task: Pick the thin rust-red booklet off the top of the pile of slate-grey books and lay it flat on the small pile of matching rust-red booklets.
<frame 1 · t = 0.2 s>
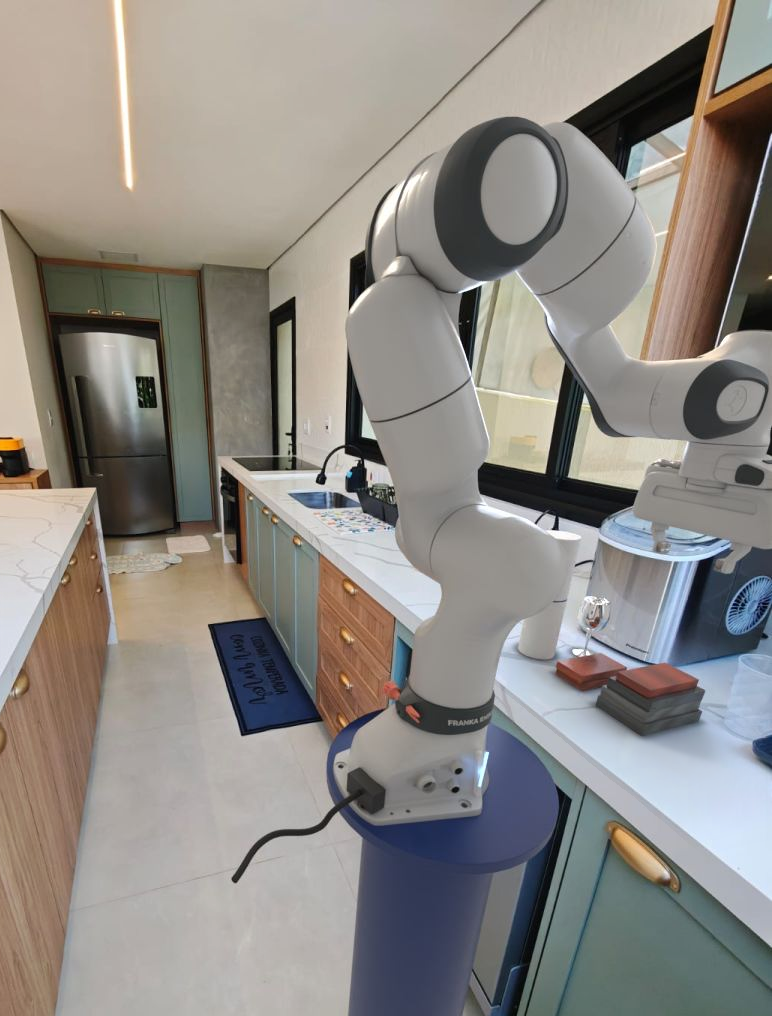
hand: (689, 562, 74), 27 cm above the countertop, tool pointing down, fingers open, 8 cm apart
wineglass: (583, 654, 105), on the countertop
grey books: (646, 713, 85), on the countertop
rust books: (589, 678, 96), on the countertop
cylindrical container: (535, 652, 106), on the countertop
rust booklet: (655, 683, 83), point 6 cm above the countertop, touching grey books
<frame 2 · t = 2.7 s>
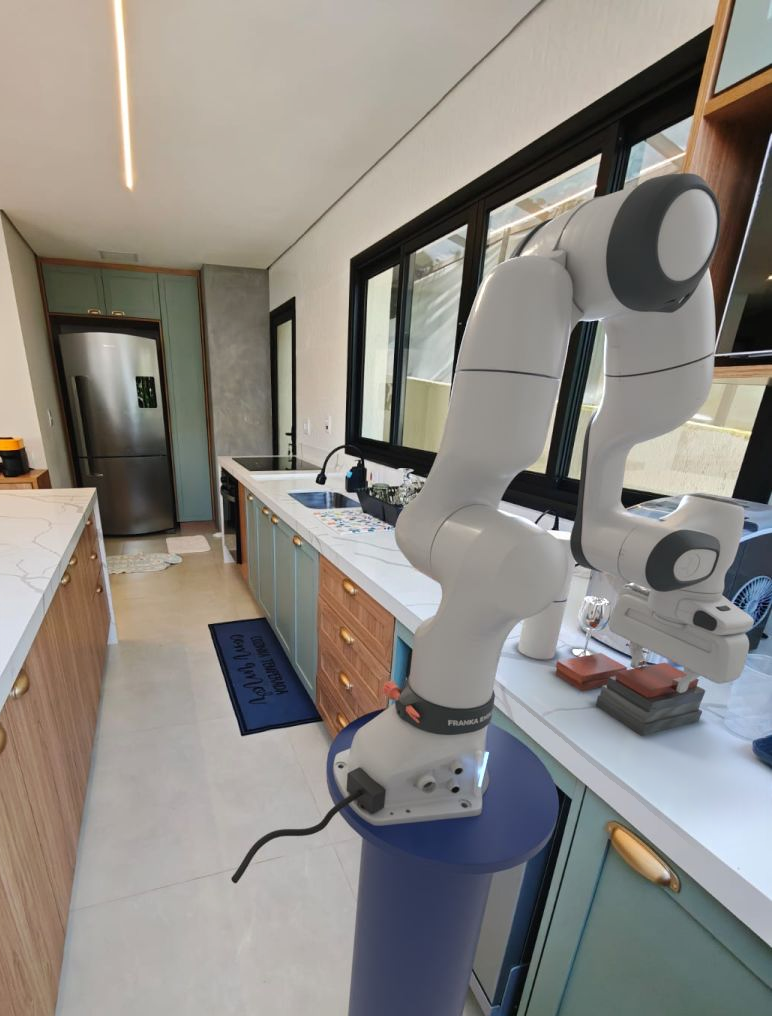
hand: (657, 678, 83), 7 cm above the countertop, tool pointing down, fingers closed on rust booklet, 6 cm apart
rust booklet: (655, 683, 83), point 6 cm above the countertop, touching grey books, gripper
everything else where it was.
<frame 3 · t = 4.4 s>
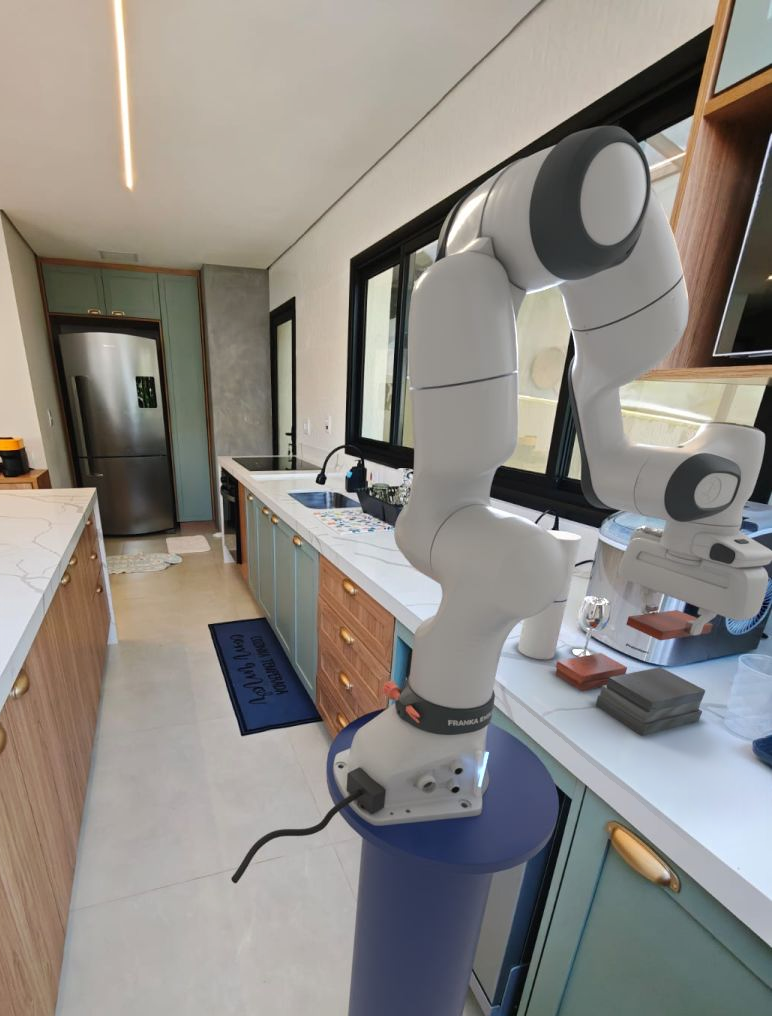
hand: (669, 623, 80), 16 cm above the countertop, tool pointing down, fingers closed on rust booklet, 6 cm apart
rust booklet: (667, 628, 80), point 15 cm above the countertop, touching gripper
everything else where it was.
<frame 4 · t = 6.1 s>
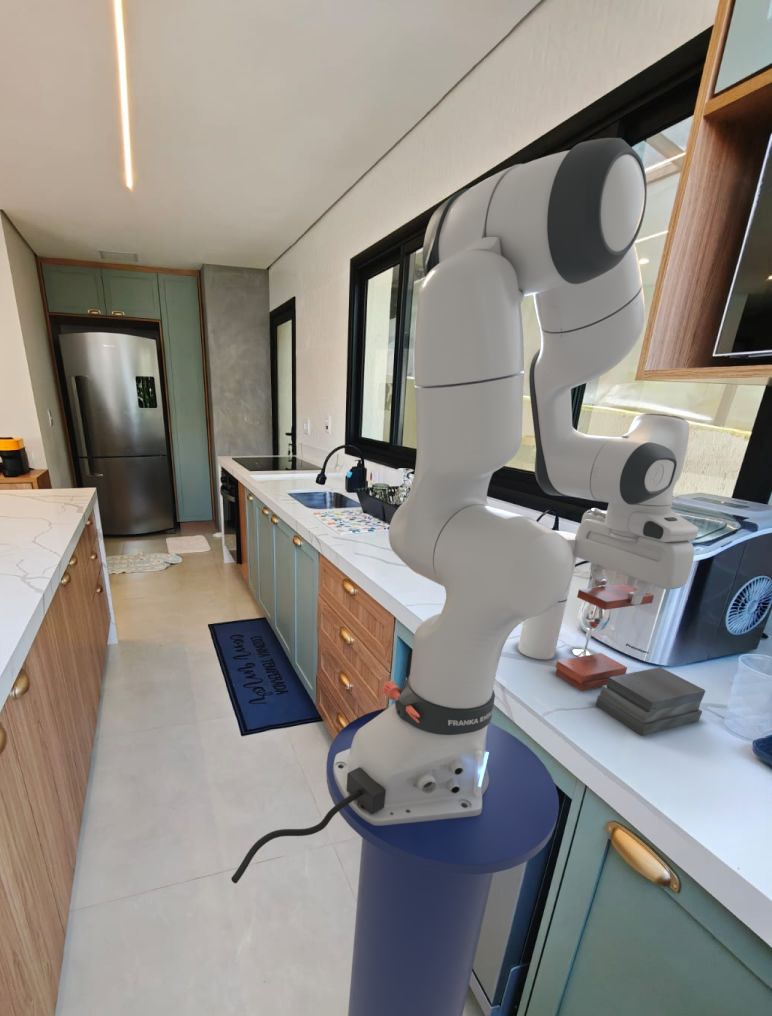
hand: (615, 595, 89), 17 cm above the countertop, tool pointing down, fingers closed on rust booklet, 6 cm apart
rust booklet: (614, 600, 89), point 16 cm above the countertop, touching gripper
everything else where it was.
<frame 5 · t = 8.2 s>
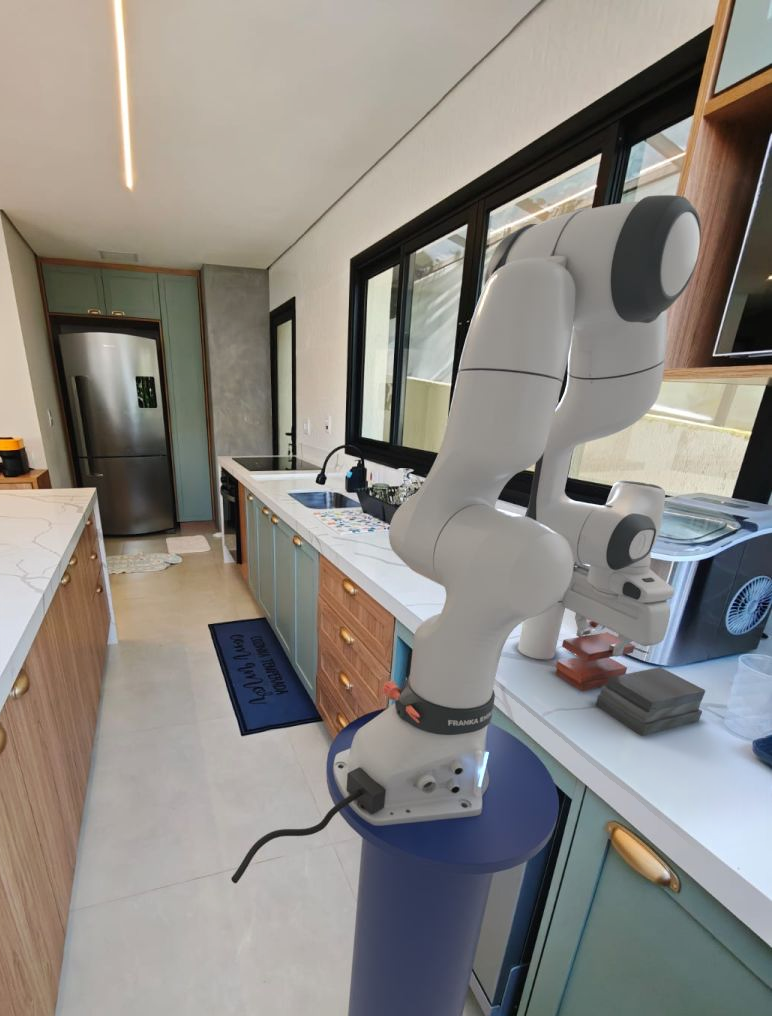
hand: (598, 645, 93), 7 cm above the countertop, tool pointing down, fingers closed on rust booklet, 6 cm apart
rust booklet: (597, 649, 94), point 6 cm above the countertop, touching gripper
everything else where it was.
when the fingers open (4 cm above the countertop, at t = 9.6 s): rust booklet stays where it is, resting on rust books.
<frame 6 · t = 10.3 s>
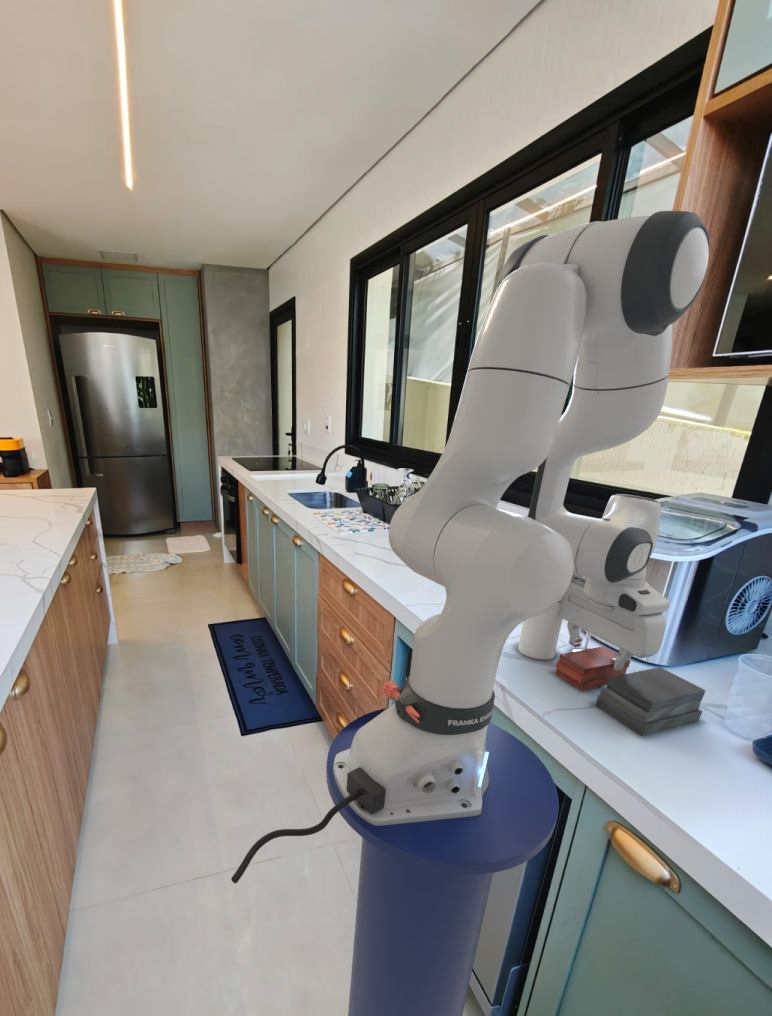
hand: (594, 656, 94), 5 cm above the countertop, tool pointing down, fingers open, 8 cm apart
rust booklet: (593, 664, 95), point 3 cm above the countertop, touching rust books
everything else where it was.
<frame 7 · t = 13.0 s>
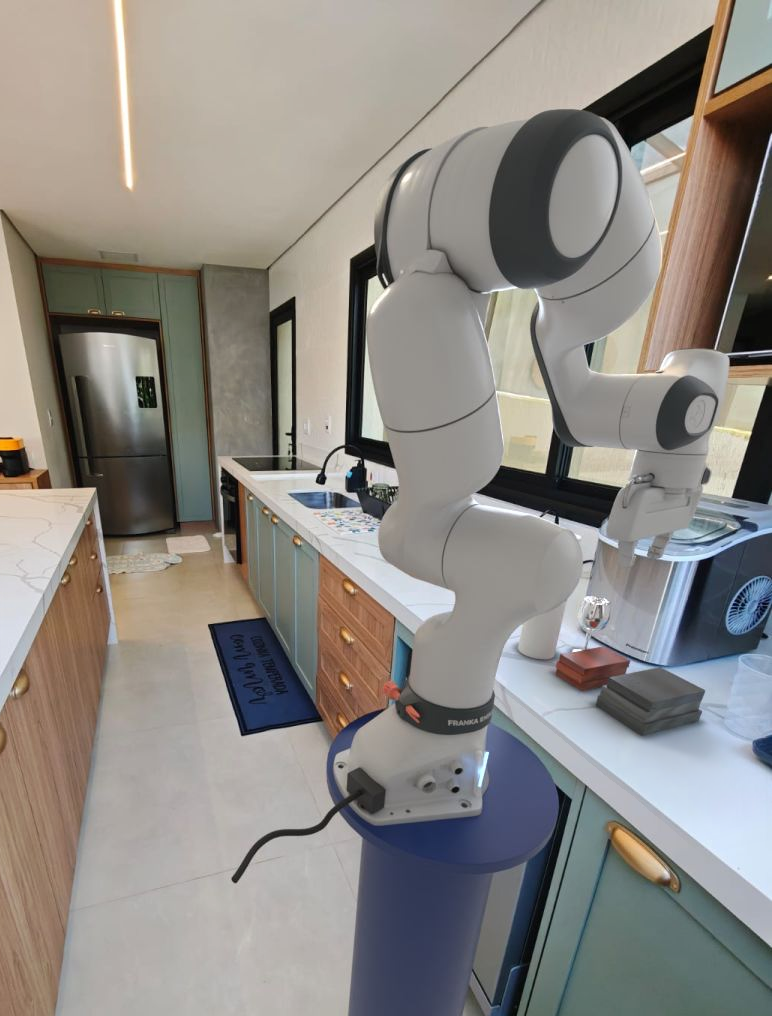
hand: (639, 562, 79), 25 cm above the countertop, tool pointing down, fingers open, 8 cm apart
nothing on the countertop moved.
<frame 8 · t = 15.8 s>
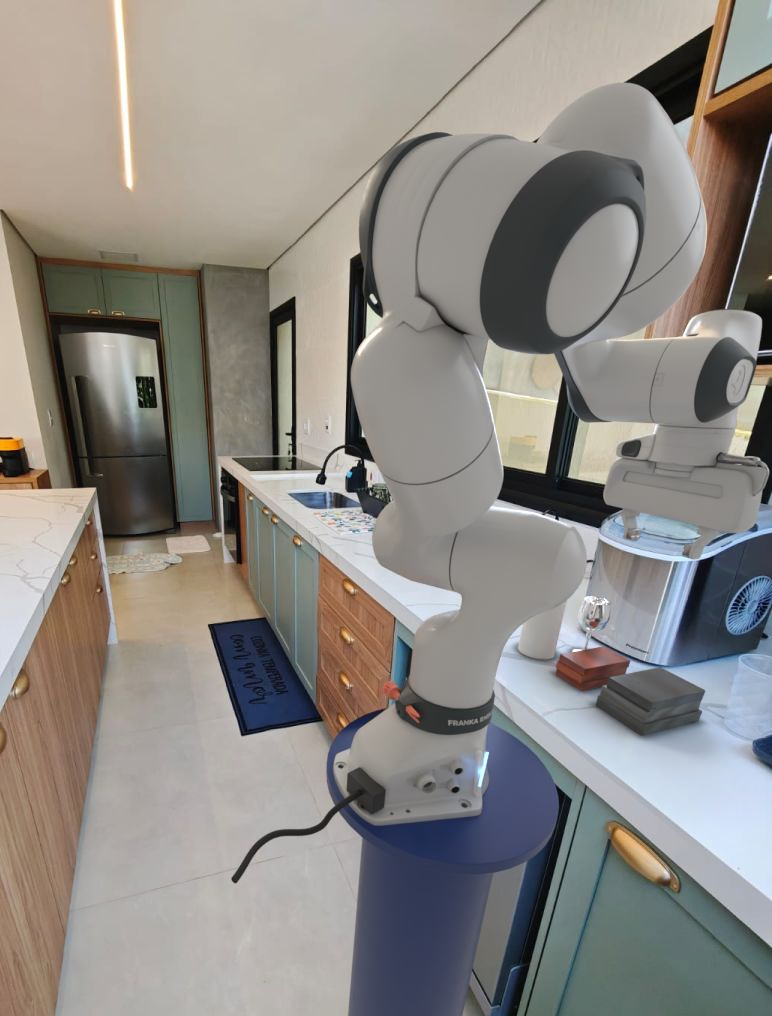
hand: (658, 548, 73), 29 cm above the countertop, tool pointing down, fingers open, 8 cm apart
nothing on the countertop moved.
at the end: rust booklet 0.1 cm off-centre on the rust books, point 3.0 cm above the rust books's base; rust booklet tilted 0°; the gripper is holding nothing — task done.
